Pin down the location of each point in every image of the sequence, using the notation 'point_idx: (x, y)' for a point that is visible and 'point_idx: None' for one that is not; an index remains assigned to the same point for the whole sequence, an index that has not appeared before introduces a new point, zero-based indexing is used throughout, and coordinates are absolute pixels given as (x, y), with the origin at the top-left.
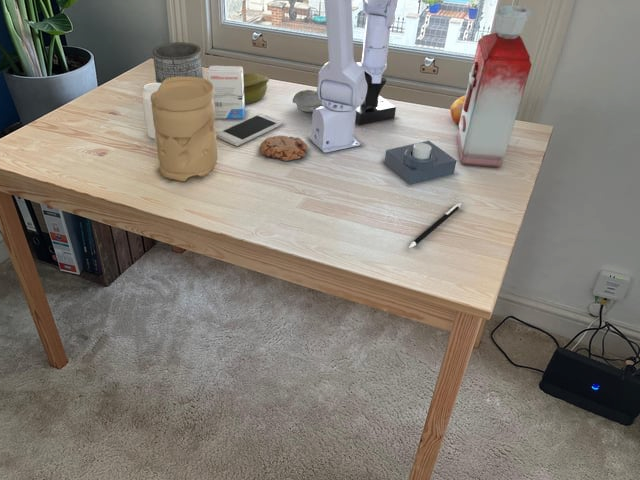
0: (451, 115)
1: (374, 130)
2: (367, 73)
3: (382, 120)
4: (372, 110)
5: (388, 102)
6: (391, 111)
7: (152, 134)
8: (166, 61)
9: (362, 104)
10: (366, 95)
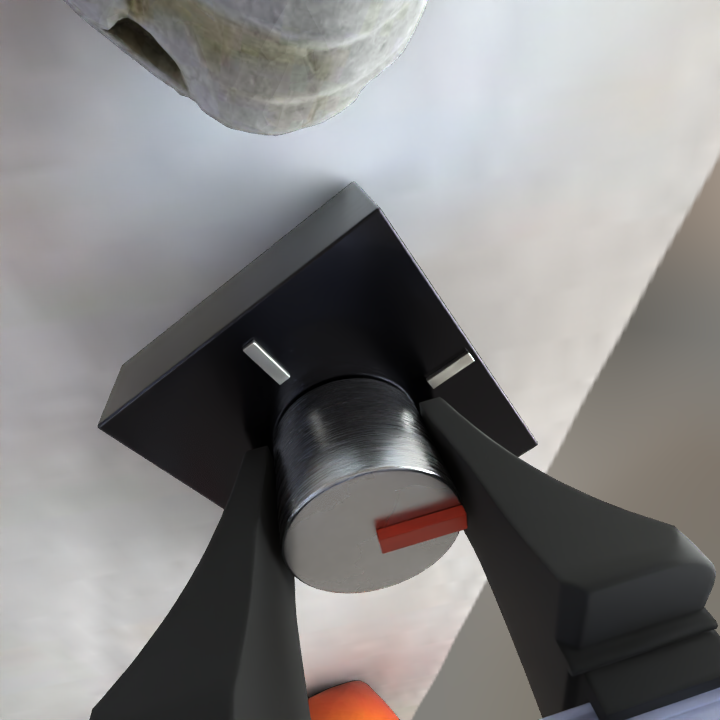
0: (327, 713)
1: (92, 463)
2: (538, 610)
3: None
4: (211, 486)
5: None
6: None
7: None
8: None
9: (292, 408)
10: (217, 536)
